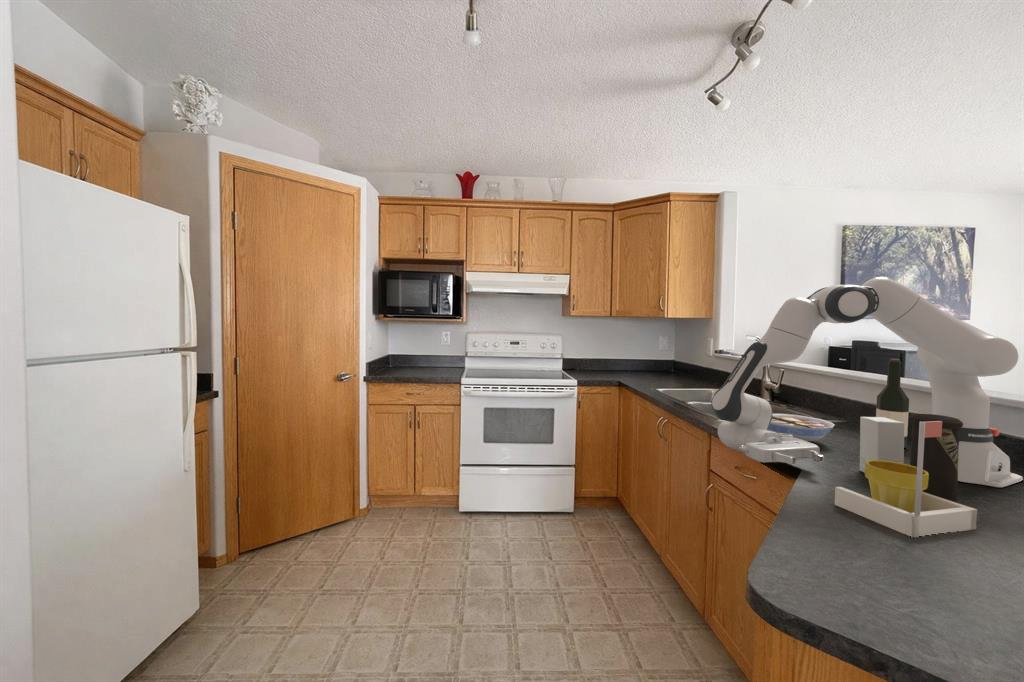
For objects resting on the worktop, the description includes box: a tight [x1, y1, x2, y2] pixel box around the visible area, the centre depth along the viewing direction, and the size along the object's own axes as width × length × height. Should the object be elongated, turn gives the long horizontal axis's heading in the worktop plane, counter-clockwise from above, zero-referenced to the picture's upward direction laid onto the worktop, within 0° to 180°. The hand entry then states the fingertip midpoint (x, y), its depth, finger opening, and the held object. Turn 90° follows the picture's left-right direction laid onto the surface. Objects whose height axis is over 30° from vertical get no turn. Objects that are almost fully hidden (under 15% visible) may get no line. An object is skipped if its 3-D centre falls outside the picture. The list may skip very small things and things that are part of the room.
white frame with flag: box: [834, 421, 978, 538], centre depth 92 cm, size 17×16×22 cm
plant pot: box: [864, 460, 929, 513], centre depth 95 cm, size 10×10×10 cm
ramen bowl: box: [767, 413, 836, 442], centre depth 154 cm, size 25×23×8 cm
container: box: [908, 413, 963, 503], centre depth 102 cm, size 9×9×20 cm
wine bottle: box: [875, 358, 910, 448], centre depth 149 cm, size 8×8×30 cm
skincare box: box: [859, 416, 905, 474], centre depth 118 cm, size 8×7×16 cm
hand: (807, 460), depth 113 cm, fingers open, 8 cm apart
